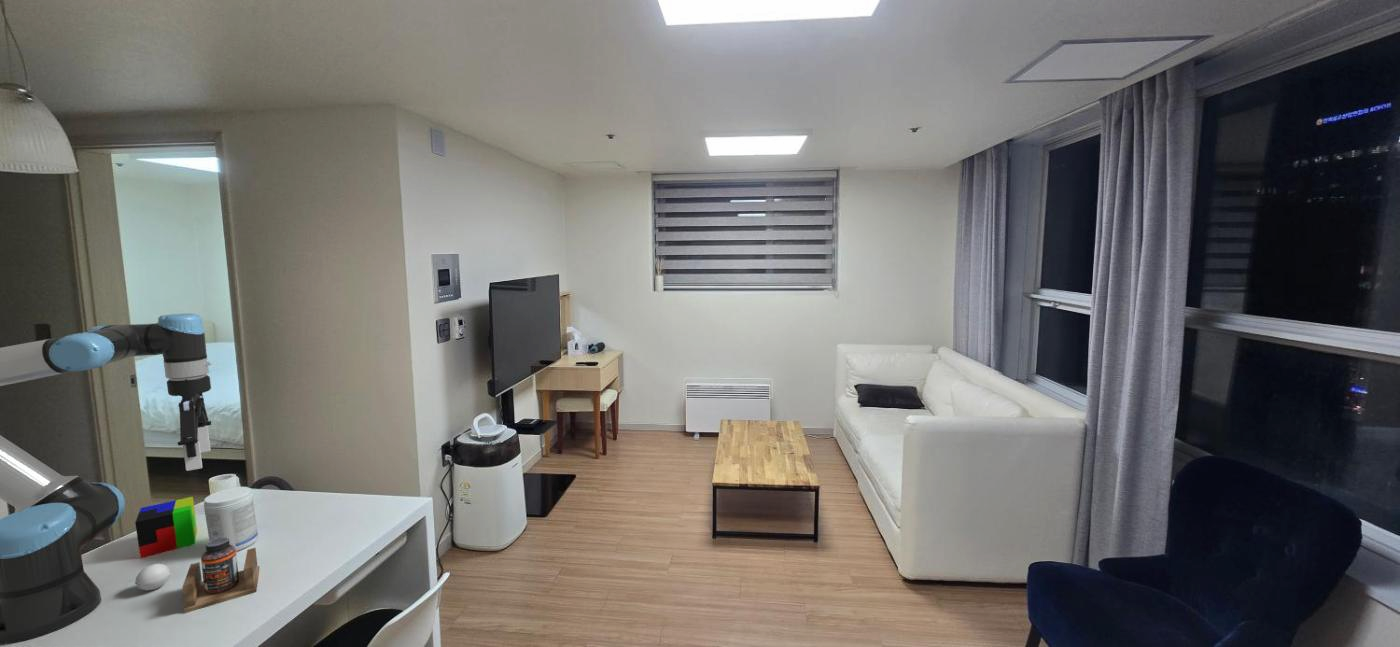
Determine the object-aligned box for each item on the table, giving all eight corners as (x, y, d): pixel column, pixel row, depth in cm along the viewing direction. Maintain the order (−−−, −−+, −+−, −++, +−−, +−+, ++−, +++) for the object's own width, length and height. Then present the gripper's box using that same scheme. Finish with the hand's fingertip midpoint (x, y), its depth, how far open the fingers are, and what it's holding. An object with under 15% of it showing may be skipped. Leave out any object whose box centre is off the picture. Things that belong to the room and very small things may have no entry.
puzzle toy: (145, 542, 140) (140, 507, 138) (197, 529, 146) (192, 496, 145) (140, 558, 132) (135, 522, 131) (194, 544, 139) (190, 509, 137)
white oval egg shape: (177, 578, 124) (174, 556, 123) (162, 592, 119) (159, 570, 118) (136, 585, 122) (132, 563, 121) (119, 600, 116) (115, 577, 116)
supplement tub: (258, 532, 145) (253, 482, 143) (258, 547, 138) (251, 495, 136) (211, 544, 139) (205, 492, 137) (208, 560, 131) (201, 506, 130)
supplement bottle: (203, 598, 116) (197, 551, 114) (206, 585, 120) (200, 540, 119) (238, 587, 119) (233, 542, 118) (240, 575, 124) (234, 531, 122)
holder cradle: (184, 613, 112) (180, 587, 111) (192, 587, 121) (189, 563, 120) (256, 591, 119) (253, 567, 119) (259, 568, 128) (257, 546, 127)
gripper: (201, 384, 118) (212, 473, 121) (216, 366, 138) (225, 442, 140) (154, 390, 113) (167, 481, 116) (176, 369, 133) (187, 448, 136)
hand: (199, 460), depth 128 cm, fingers open, 13 cm apart
